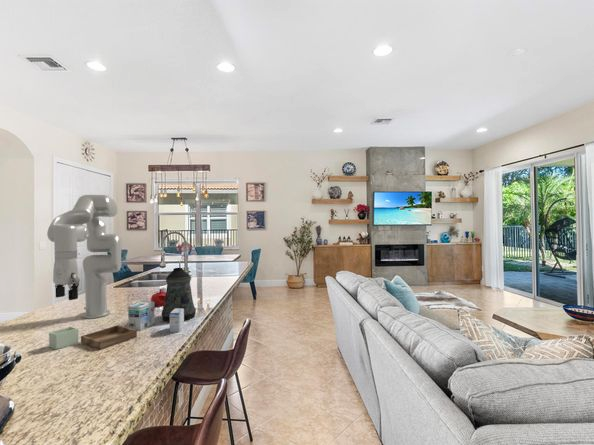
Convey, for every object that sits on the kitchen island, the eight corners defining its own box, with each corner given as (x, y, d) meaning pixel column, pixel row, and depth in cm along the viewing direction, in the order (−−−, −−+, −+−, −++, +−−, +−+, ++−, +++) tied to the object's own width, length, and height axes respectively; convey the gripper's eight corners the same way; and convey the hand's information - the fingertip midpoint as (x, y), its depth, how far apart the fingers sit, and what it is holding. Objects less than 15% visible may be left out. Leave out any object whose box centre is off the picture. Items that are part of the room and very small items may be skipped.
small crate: (49, 347, 132) (49, 332, 132) (71, 340, 139) (70, 326, 139) (56, 350, 130) (56, 334, 130) (78, 343, 137) (78, 328, 137)
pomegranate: (147, 306, 193) (146, 290, 192) (159, 302, 202) (159, 286, 202) (160, 307, 189) (160, 291, 189) (173, 303, 199) (172, 287, 198)
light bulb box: (140, 330, 151) (140, 307, 151) (127, 329, 153) (127, 306, 153) (155, 323, 162) (155, 301, 162) (143, 322, 163) (142, 300, 163)
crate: (80, 343, 136) (80, 336, 136) (117, 331, 150) (117, 325, 150) (100, 349, 130) (100, 342, 129) (136, 337, 143) (136, 330, 143)
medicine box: (174, 326, 157) (174, 308, 156) (184, 326, 157) (184, 308, 157) (169, 332, 149) (169, 313, 149) (179, 332, 149) (179, 312, 149)
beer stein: (177, 324, 160) (176, 272, 159) (150, 318, 169) (149, 269, 169) (202, 315, 174) (202, 267, 174) (176, 310, 183) (176, 265, 183)
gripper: (44, 255, 135) (45, 297, 136) (67, 257, 127) (68, 302, 127) (64, 253, 142) (65, 294, 142) (87, 255, 134) (88, 298, 134)
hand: (66, 298), depth 135 cm, fingers open, 9 cm apart
